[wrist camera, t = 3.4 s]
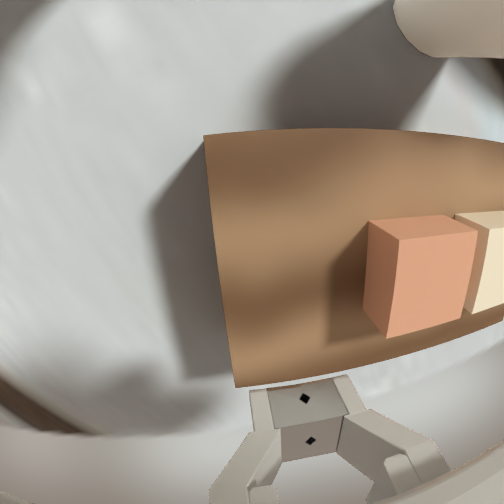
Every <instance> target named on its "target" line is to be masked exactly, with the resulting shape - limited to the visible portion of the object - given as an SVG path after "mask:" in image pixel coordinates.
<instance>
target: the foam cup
mask: <svg viewBox="0 0 504 504" xmlns="http://www.w3.org/2000/svg"><path fill="white" fill-rule="evenodd" d="M393 10H394V14H395V19H396V23H397V25H398V26H399V28H400V29H401V31H402V33H403V34H404V36H405V38H406V39H407V40H408V41H409V42H410V43H411V44H412V45H413V46H415V47H416V48H417V49H418V50H419V51H420V52H422V53H425V54H427V55H429V56H431V57H433V58H436V57H438V58H443V57H485V58H504V0H395V1H394V5H393Z"/></svg>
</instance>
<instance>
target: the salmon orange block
mask: <svg viewBox="0 0 504 504" xmlns="http://www.w3.org/2000/svg"><path fill="white" fill-rule="evenodd" d="M477 234H478V230H475V229H473V228H471V227H469V226H467V225H465V224H463V223H461V222H458V221H456V220H454V219H452V218H450V217H447V216H445V215H433V216H419V217H407V218H395V219H383V220H371V221H369V223H368V246H367V262H366V276H365V288H364V298H363V310H364V311H365V312H366V313H367V315H368V316H369V317H370V319H371V320H372V321H373V322H374V324H375V325H376V326H377V328H378V329H379V330H380V332H381V333H382V334H383V335H384V337H385V338H386V339H387V338H392V337H396V336H400V335H403V334H407V333H411V332H415V331H418V330H422V329H426V328H429V327H433V326H436V325H439V324H443V323H446V322H449V321H453V320H456V319H459V318H460V317H461V313H462V309H463V305H464V301H465V297H466V293H467V289H468V284H469V280H470V275H471V270H472V265H473V259H474V254H475V248H476V241H477Z"/></svg>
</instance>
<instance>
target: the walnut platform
mask: <svg viewBox="0 0 504 504" xmlns="http://www.w3.org/2000/svg"><path fill="white" fill-rule="evenodd" d="M203 138H204V148H205V158H206V168H207V178H208V188H209V197H210V206H211V215H212V223H213V232H214V240H215V248H216V256H217V264H218V272H219V280H220V287H221V294H222V302H223V309H224V316H225V323H226V330H227V337H228V343H229V350H230V356H231V363H232V369H233V375H234V382H235V388H240V387H248V386H256V385H264V384H271V383H278V382H284V381H291V380H297V379H302V378H308V377H313V376H319V375H324V374H329V373H334V372H339V371H343V370H348V369H352V368H357V367H361V366H365V365H369V364H373V363H377V362H381V361H385V360H389V359H392V358H396V357H399V356H403V355H407V354H410V353H413V352H417V351H420V350H423V349H426V348H430V347H433V346H436V345H439V344H442V343H445V342H448V341H451V340H454V339H456V338H459V337H462V336H465V335H467V334H470V333H473V332H475V331H478V330H481V329H483V328H486V327H488V326H491V325H493V324H496V323H498V322H500V321H502V320H503V317H504V303H502V304H500V305H497V306H494V307H492V308H489V309H486V310H483V311H480V312H477V313H474V314H471V313H470V312H468V311H467V310H466V309H465V308H464V307H463V309H462V313H461V317H460V318H459V319H456V320H453V321H449V322H446V323H443V324H439V325H436V326H433V327H429V328H426V329H422V330H418V331H415V332H411V333H407V334H403V335H400V336H396V337H392V338H387V339H386V338H385V337H384V335H383V334H382V333H381V332H380V330H379V329H378V328H377V326H376V325H375V324H374V322H373V321H372V320H371V319H370V317H369V316H368V315H367V313H366V312H365V311H364V310H363V298H364V288H365V276H366V262H367V246H368V223H369V221H371V220H383V219H395V218H407V217H419V216H433V215H445V216H447V217H450V218H452V219H454V220H455V214H460V213H475V212H490V211H504V143H500V142H495V141H489V140H483V139H476V138H469V137H462V136H455V135H446V134H437V133H427V132H416V131H403V130H386V129H361V128H302V129H276V130H259V131H245V132H233V133H222V134H212V135H204V136H203Z"/></svg>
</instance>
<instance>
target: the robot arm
mask: <svg viewBox="0 0 504 504" xmlns="http://www.w3.org/2000/svg"><path fill="white" fill-rule="evenodd" d="M249 398H250V406H251V414H252V421H253V429H254V432H249V433H248V435H247V436H246V438H245V439H244V441H243V442H242V444H241V445H240V447H239V448H238V449H237V451H236V452H235V454H234V455H233V457H232V458H231V460H230V461H229V462H228V464H227V465H226V467H225V468H224V470H223V471H222V472H221V474H220V475H219V476H218V478H217V479H216V480H215V482H214V483H213V485H212V486H211V487H210V489H209V504H280V502H279V497H278V492H277V489H276V488H275V487H273V486H271V485H272V483H273V481H274V479H275V477H276V475H277V472H278V471H279V468H280V466H281V464H282V462H287V461H292V460H297V459H302V458H306V457H312V456H318V455H323V454H328V453H333V452H337V454H338V455H340V456H341V457H342V458H343V459H345V460H346V461H347V462H349V463H350V464H351V465H352V466H354V467H355V468H356V469H358V470H359V471H360V472H362V473H363V474H364V475H366V476H367V477H369V478H370V479H371V480H373V481H374V484H373V486H372V488H371V490H370V492H369V494H368V496H367V498H366V502H367V504H504V440H502V441H501V442H499V443H498V444H496V445H494V446H493V447H491V448H490V449H488V450H487V451H485V452H483V453H482V454H480V455H478V456H477V457H475V458H473V459H471V460H470V461H468V462H466V463H465V464H462V465H461V466H459V467H457V468H455V469H453V470H451V469H450V467H449V466H448V464H447V462H446V461H445V459H444V457H443V456H442V454H441V452H440V451H439V449H438V448H437V446H436V445H435V443H434V441H433V440H432V439H430V438H428V437H426V436H424V435H421V434H420V433H417V432H415V431H413V430H411V429H409V428H407V427H405V426H403V425H401V424H399V423H397V422H395V421H393V420H391V419H389V418H387V417H385V416H383V415H381V414H380V413H378V412H376V411H374V410H372V409H369V410H366V408H365V406H364V404H363V402H362V400H361V398H360V397H359V395H358V393H357V391H356V389H355V387H354V385H353V383H352V381H351V380H350V378H349V376H348V375H341V376H337V377H332V378H327V379H322V380H317V381H312V382H307V383H301V384H296V385H289V386H281V387H273V388H266V389H258V390H249ZM0 504H34V503H31V502H27V501H25V500H22V499H20V498H17V497H14V496H12V495H9V494H7V493H5V492H2V491H0Z"/></svg>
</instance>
